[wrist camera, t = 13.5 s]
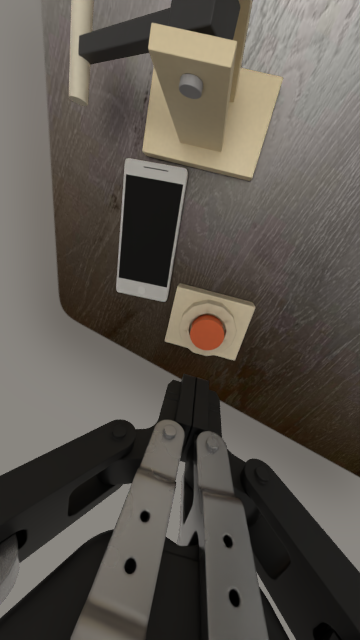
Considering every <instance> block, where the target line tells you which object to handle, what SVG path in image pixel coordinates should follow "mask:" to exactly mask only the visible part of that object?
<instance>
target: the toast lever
mask: <svg viewBox="0 0 360 640" xmlns="http://www.w3.org/2000/svg"><path fill="white" fill-rule="evenodd" d="M93 7H94V0H71V32H70V68H69V98H70V99H71V100H72V101H73V102H75V103H76V104H79V105H81V106H88V99H89V80H90V64H94V63H99V62H104V61H109V60H114V59H119V58H124V57H129V56H134V55H139V54H144V53H149V50H148V46H149V38H150V30H151V23H156V24H161V25H165V26H170V27H175V28H179V29H184V30H188V31H193V32H197V33H202V34H207V35H211V36H216V37H220V38H225V39H229V40H233V38H234V34H235V29H236V25H237V21H238V16H239V12H240V3H239V0H172V2H171V8H168V9H165V10H161V11H158V12H155V13H151V14H148V15H145V16H142V17H138V18H135V19H132V20H129V21H125V22H122V23H119V24H115V25H112V26H109V27H106V28H102V29H99V30H96V31H92V25H93Z"/></svg>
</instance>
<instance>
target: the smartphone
mask: <svg viewBox="0 0 360 640" xmlns="http://www.w3.org/2000/svg"><path fill="white" fill-rule="evenodd" d="M187 179H188V172H187V169H186V168H181V167H176V166H170V165H164V164H159V163H153V162H147V161H142V160H136V159H130V158H127V159H126V161H125V167H124V182H123V196H122V211H121V225H120V240H119V254H118V269H117V283H116V289H117V292H120V293H125V294H130V295H134V296H139V297H144V298H148V299H153V300H158V301H162V302H165V301H166V300H167V299H168V295H169V289H170V283H171V277H172V271H173V265H174V258H175V252H176V246H177V240H178V234H179V228H180V222H181V216H182V210H183V204H184V198H185V192H186V185H187Z"/></svg>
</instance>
